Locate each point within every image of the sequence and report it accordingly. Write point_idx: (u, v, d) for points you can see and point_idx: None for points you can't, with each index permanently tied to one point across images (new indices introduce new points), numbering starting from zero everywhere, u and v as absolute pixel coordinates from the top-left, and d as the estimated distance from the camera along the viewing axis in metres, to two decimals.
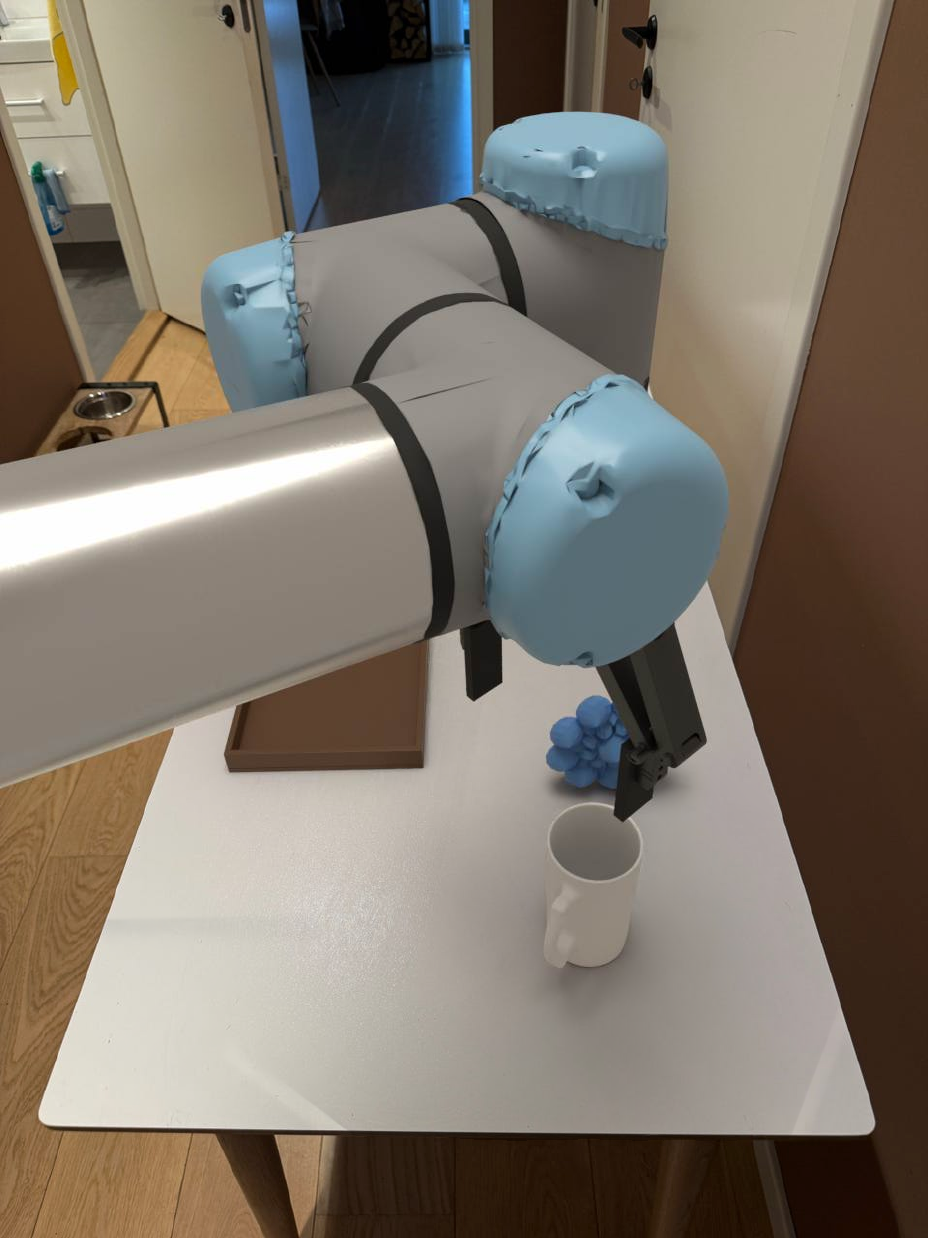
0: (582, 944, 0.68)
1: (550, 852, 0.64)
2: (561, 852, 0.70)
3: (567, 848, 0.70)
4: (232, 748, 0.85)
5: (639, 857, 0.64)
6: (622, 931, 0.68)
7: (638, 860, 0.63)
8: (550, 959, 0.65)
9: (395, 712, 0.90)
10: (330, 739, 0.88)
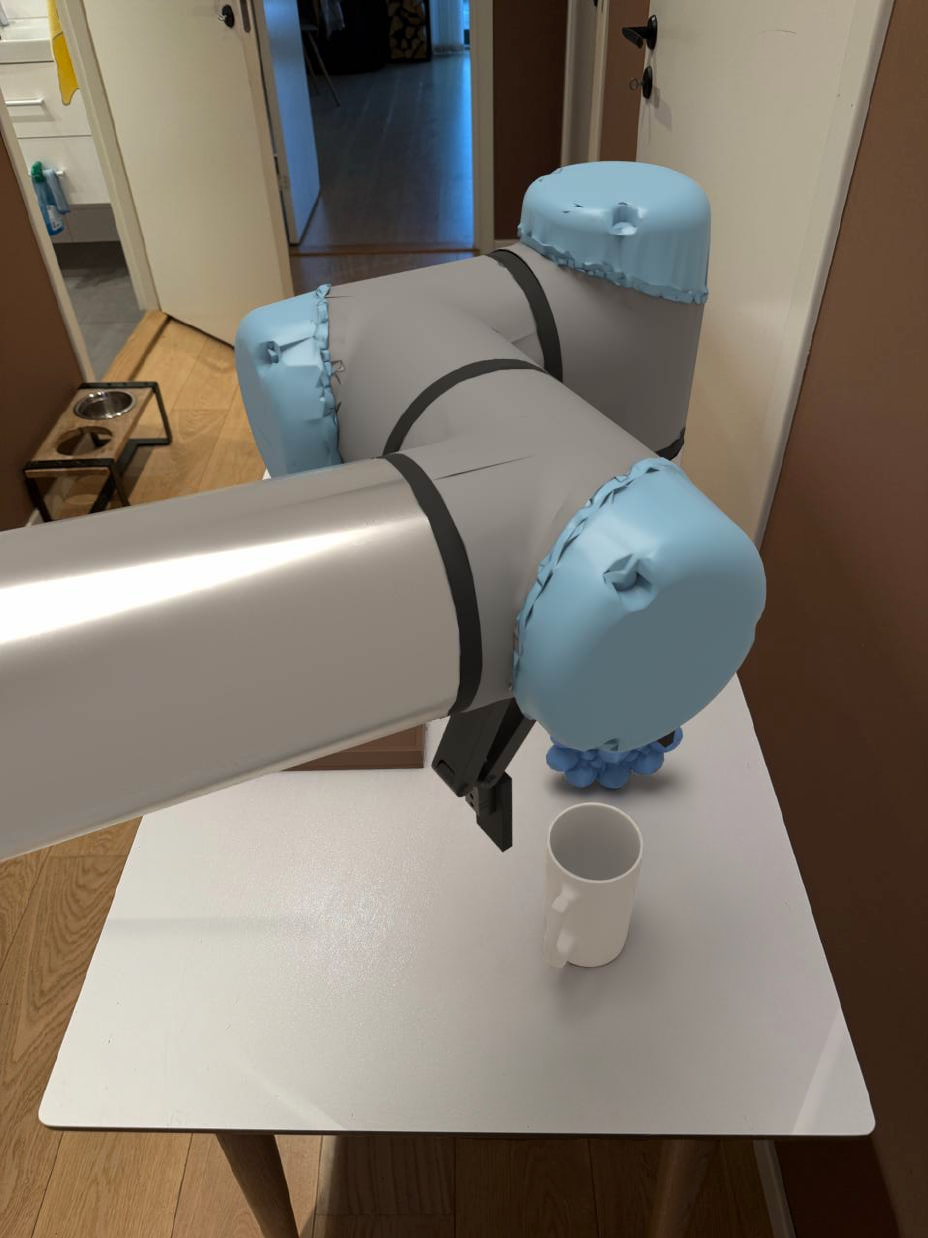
0: (582, 944, 0.68)
1: (550, 852, 0.64)
2: (561, 852, 0.70)
3: (567, 848, 0.70)
4: None
5: (639, 857, 0.64)
6: (622, 931, 0.68)
7: (638, 860, 0.63)
8: (550, 959, 0.65)
9: None
10: None
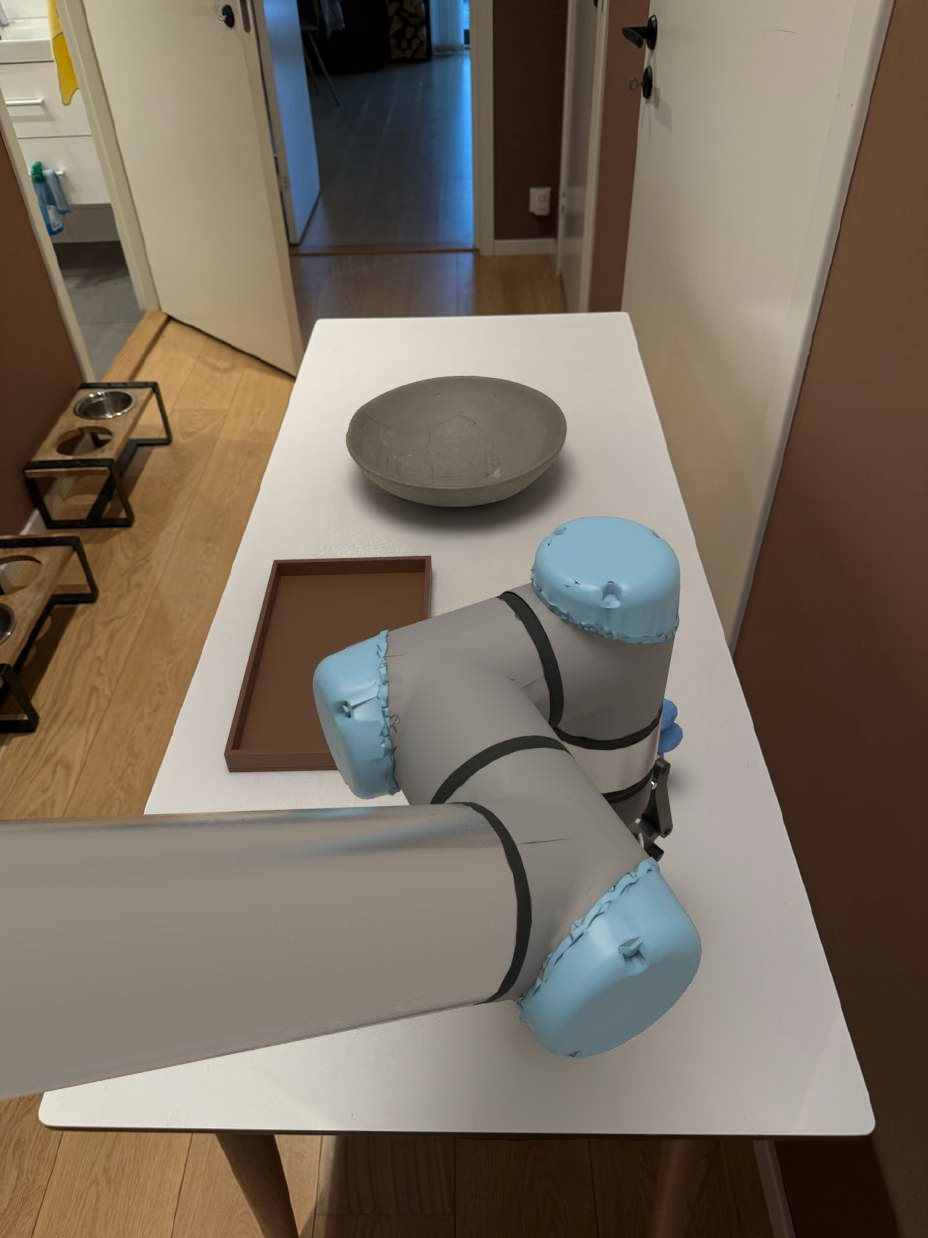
0: None
1: None
2: None
3: None
4: (232, 748, 0.85)
5: None
6: None
7: None
8: None
9: None
10: None
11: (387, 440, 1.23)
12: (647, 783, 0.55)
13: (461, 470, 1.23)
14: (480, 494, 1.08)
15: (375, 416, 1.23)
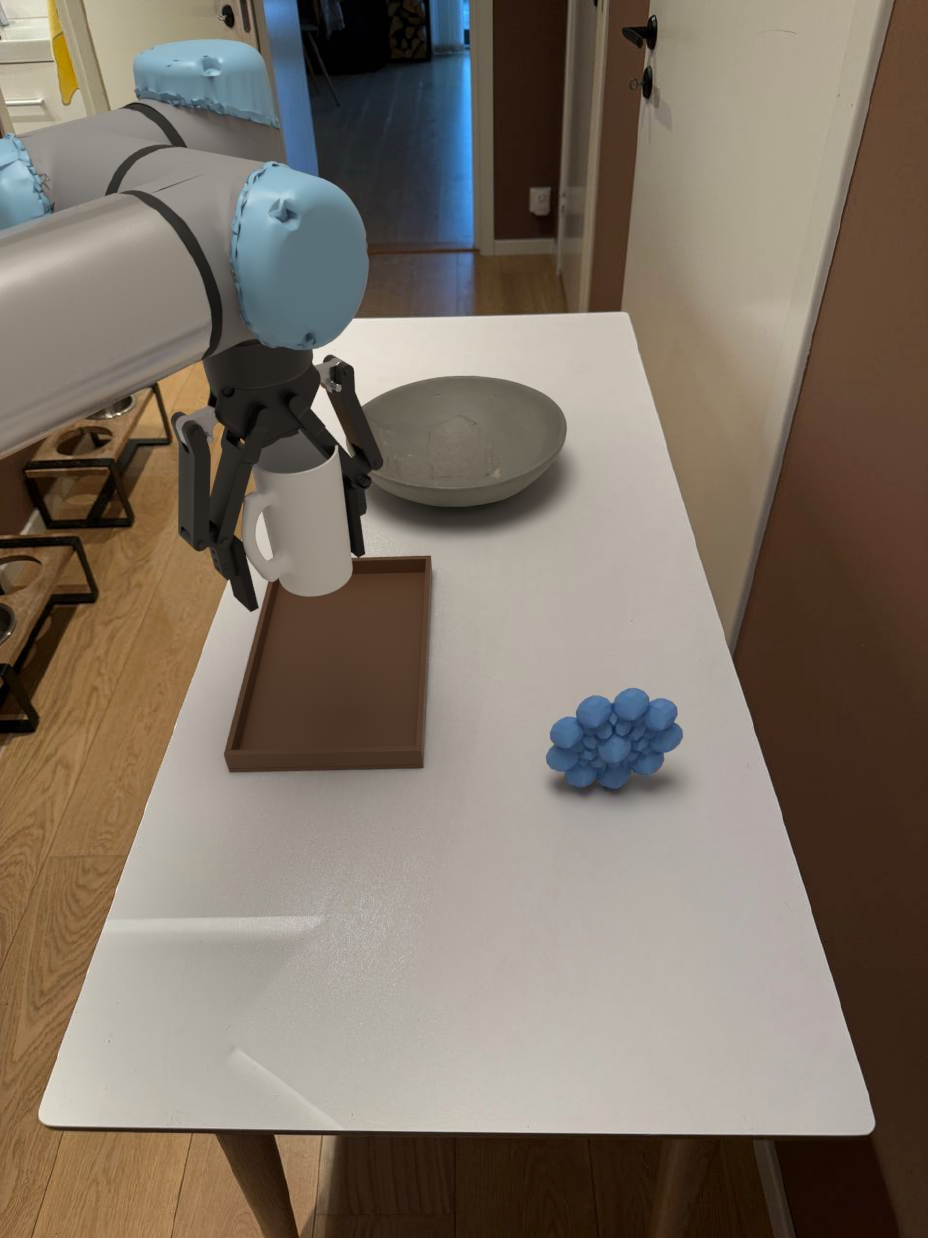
0: (295, 564, 0.73)
1: None
2: None
3: None
4: (232, 748, 0.85)
5: (329, 459, 0.69)
6: (333, 553, 0.74)
7: (327, 461, 0.69)
8: (251, 559, 0.70)
9: (395, 712, 0.90)
10: (330, 739, 0.88)
11: (387, 440, 1.23)
12: None
13: (461, 470, 1.23)
14: (480, 494, 1.08)
15: (375, 416, 1.23)
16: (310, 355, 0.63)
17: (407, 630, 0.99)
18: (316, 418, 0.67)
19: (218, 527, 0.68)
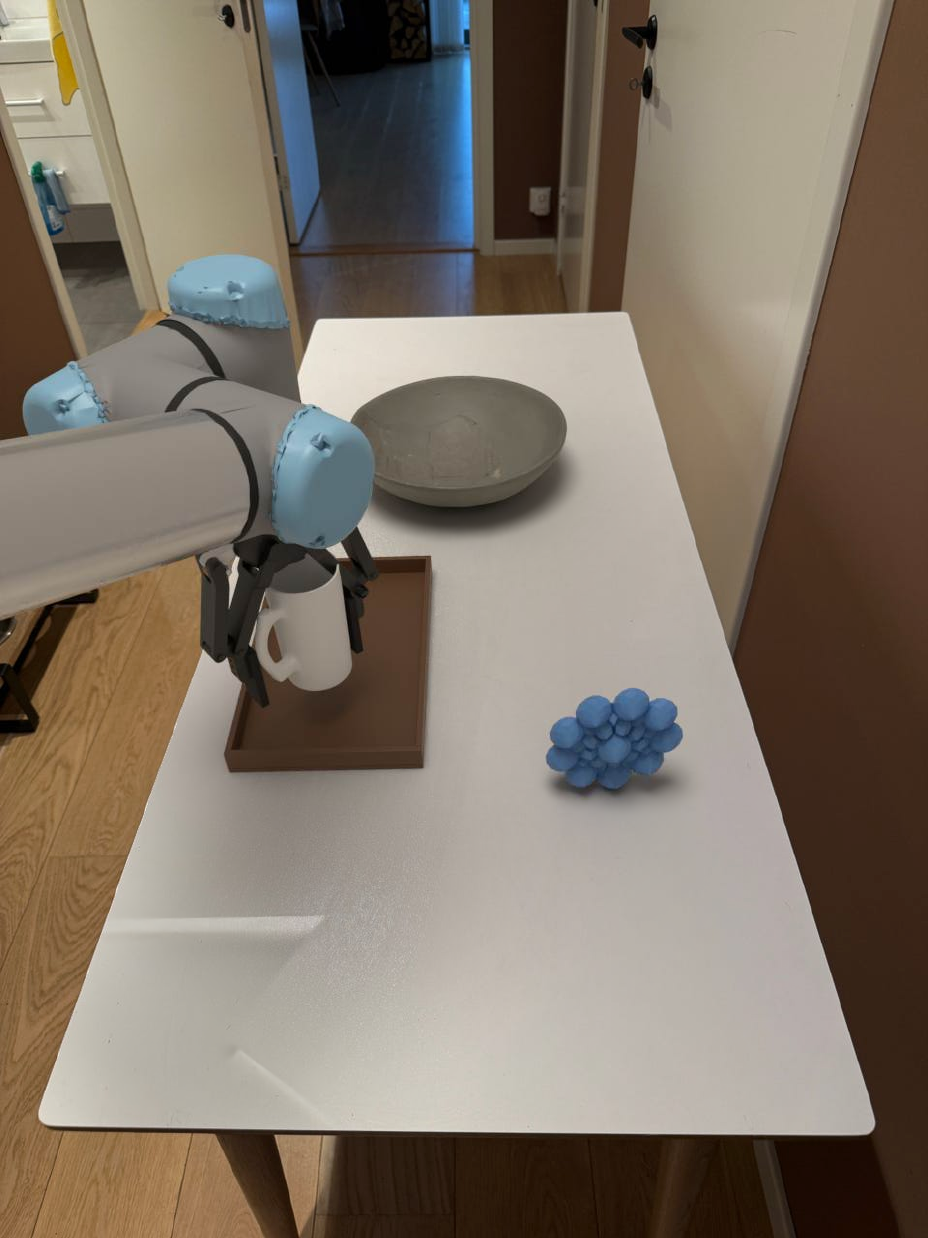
0: (301, 665, 0.83)
1: None
2: None
3: (295, 591, 0.85)
4: (232, 748, 0.85)
5: (331, 579, 0.79)
6: (335, 655, 0.84)
7: (330, 580, 0.79)
8: (264, 665, 0.80)
9: (395, 712, 0.90)
10: (330, 739, 0.88)
11: (387, 440, 1.23)
12: None
13: (461, 470, 1.23)
14: (480, 494, 1.08)
15: (375, 416, 1.23)
16: None
17: (407, 630, 0.99)
18: None
19: (235, 641, 0.78)
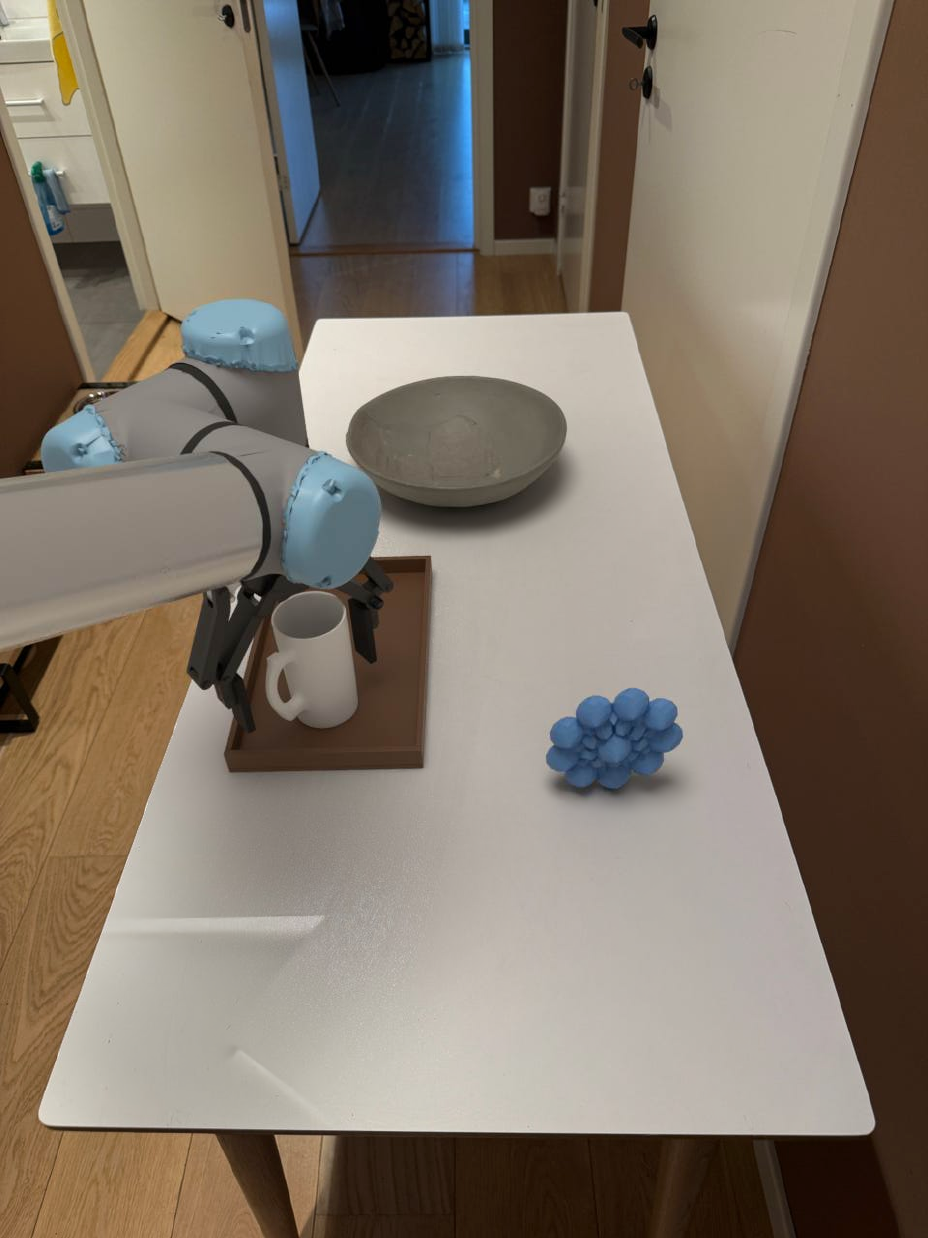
0: (309, 704, 0.87)
1: (272, 621, 0.83)
2: (297, 635, 0.88)
3: (303, 633, 0.89)
4: (232, 748, 0.85)
5: (339, 624, 0.82)
6: (342, 695, 0.87)
7: (337, 626, 0.82)
8: (274, 706, 0.83)
9: (395, 712, 0.90)
10: (330, 739, 0.88)
11: (387, 440, 1.23)
12: None
13: (461, 470, 1.23)
14: (480, 494, 1.08)
15: (375, 416, 1.23)
16: None
17: (407, 630, 0.99)
18: None
19: (223, 667, 0.78)
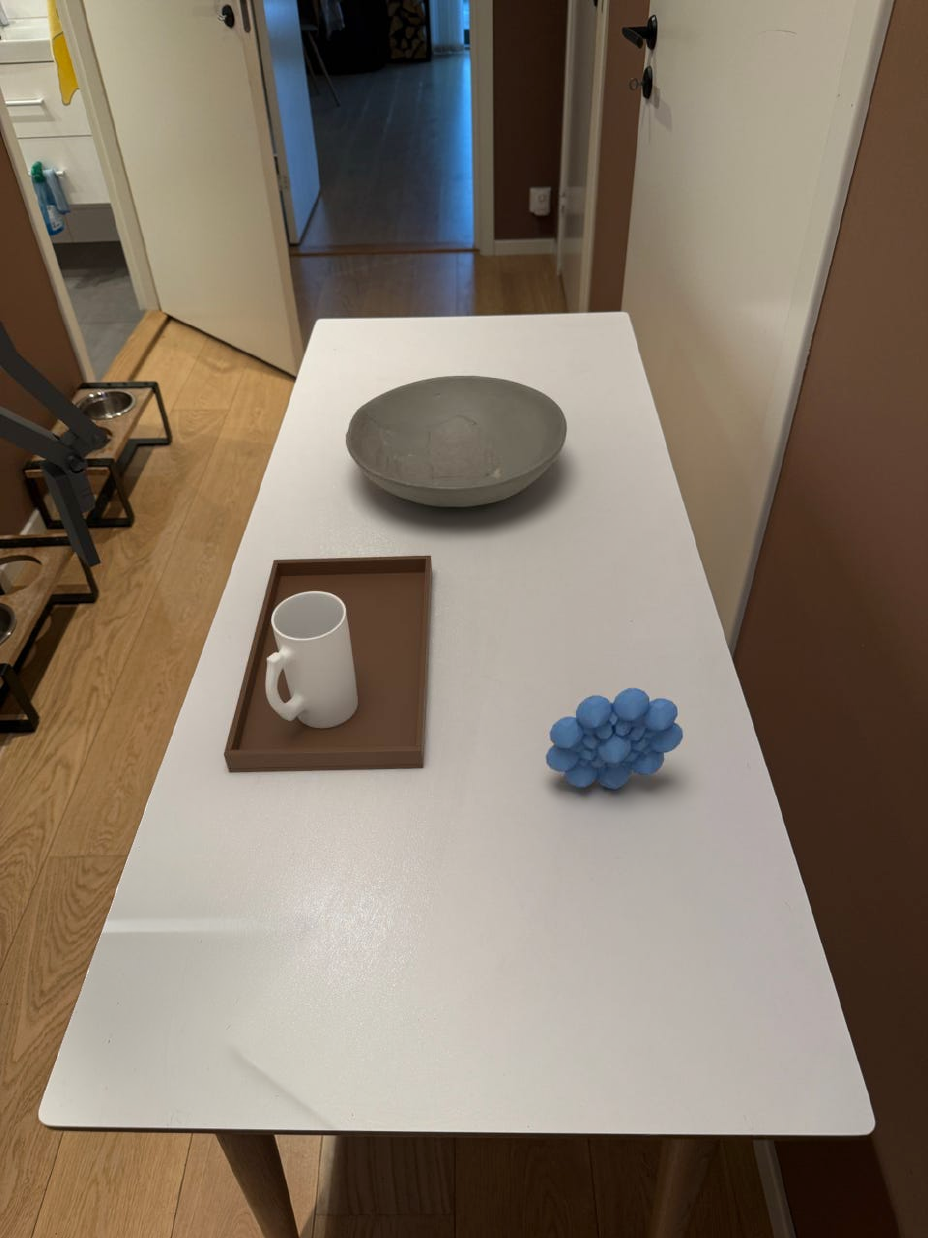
0: (309, 704, 0.87)
1: (272, 621, 0.83)
2: (297, 635, 0.88)
3: (303, 633, 0.89)
4: (232, 748, 0.85)
5: (339, 624, 0.82)
6: (342, 695, 0.87)
7: (337, 626, 0.82)
8: (274, 706, 0.83)
9: (395, 712, 0.90)
10: (330, 739, 0.88)
11: (387, 440, 1.23)
12: None
13: (461, 470, 1.23)
14: (480, 494, 1.08)
15: (375, 416, 1.23)
16: None
17: (407, 630, 0.99)
18: None
19: None
